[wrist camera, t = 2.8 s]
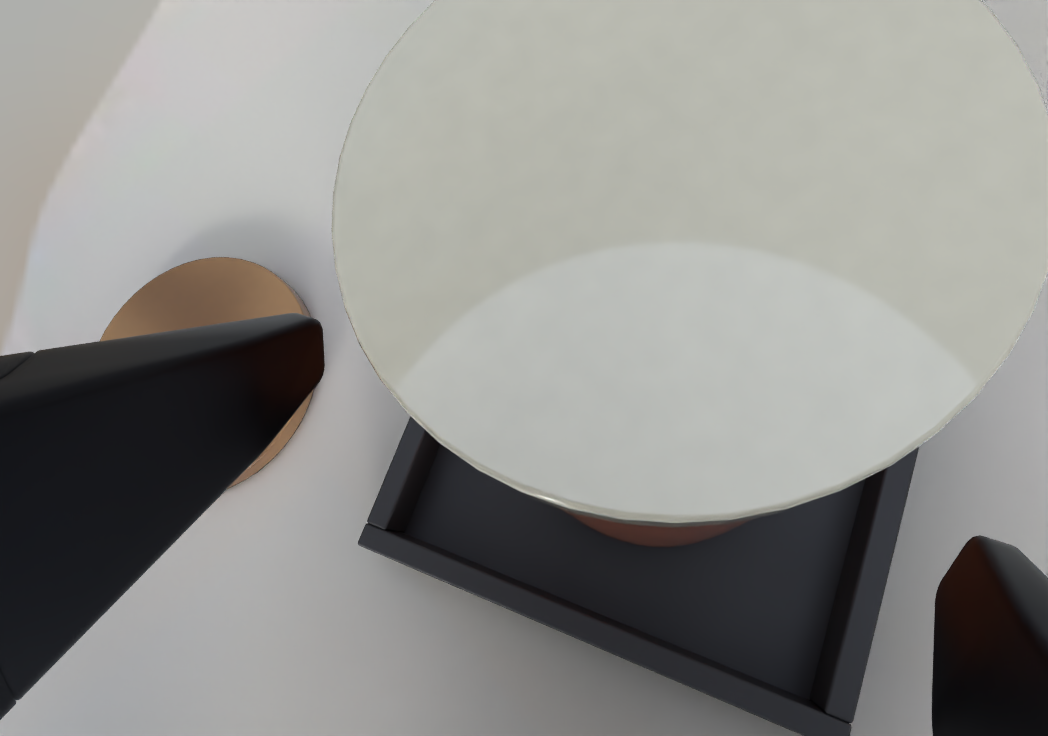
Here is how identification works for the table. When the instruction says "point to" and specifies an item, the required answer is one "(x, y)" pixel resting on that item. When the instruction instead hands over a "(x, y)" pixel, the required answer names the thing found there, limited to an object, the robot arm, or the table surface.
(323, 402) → the table surface
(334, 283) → the table surface
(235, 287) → the coaster
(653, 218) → the canister
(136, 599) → the table surface
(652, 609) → the tray
